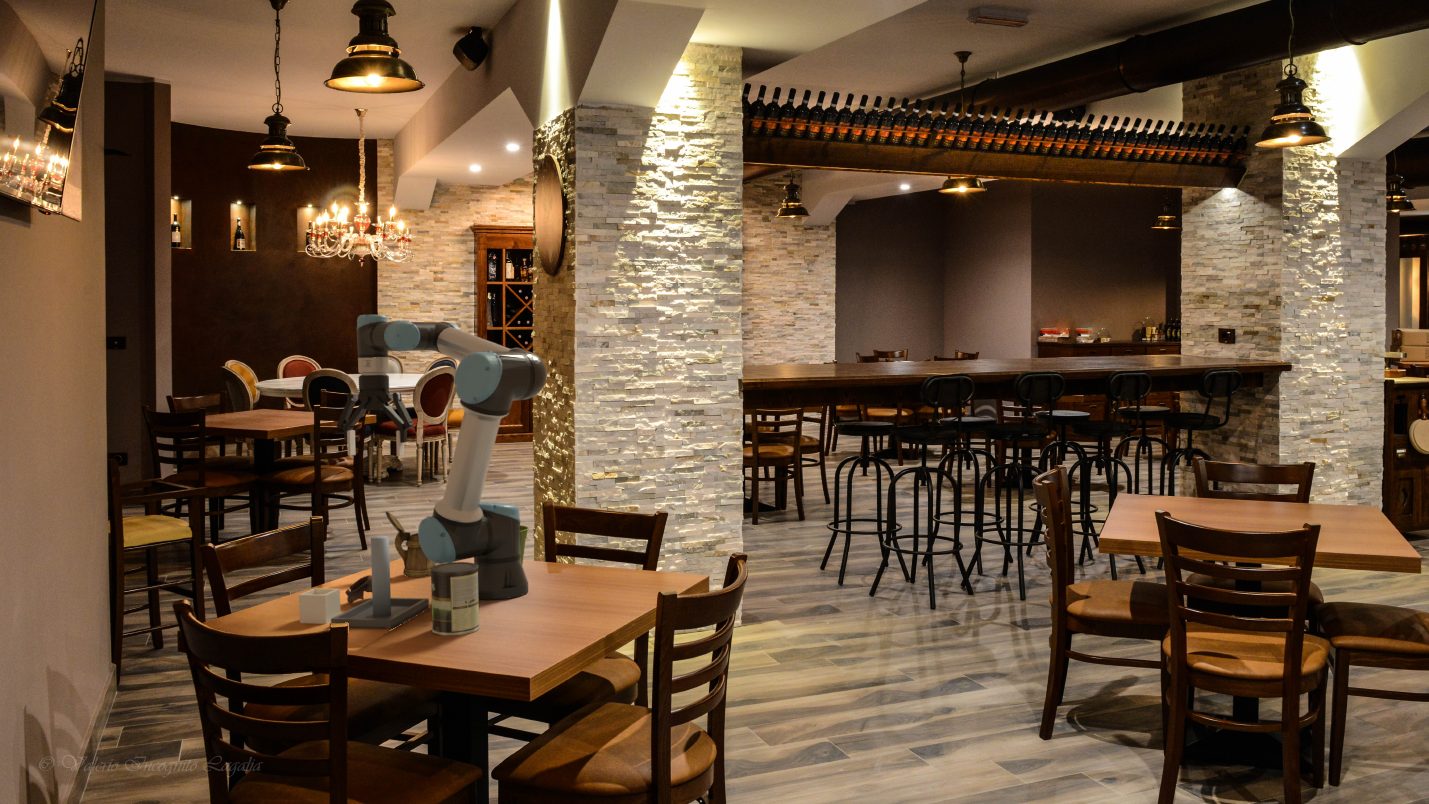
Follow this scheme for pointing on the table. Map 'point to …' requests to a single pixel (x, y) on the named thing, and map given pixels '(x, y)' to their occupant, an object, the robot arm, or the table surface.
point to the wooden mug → (411, 551)
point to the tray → (399, 614)
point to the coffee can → (454, 598)
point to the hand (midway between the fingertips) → (376, 455)
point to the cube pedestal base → (319, 605)
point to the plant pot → (523, 540)
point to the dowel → (380, 576)
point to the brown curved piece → (359, 589)
